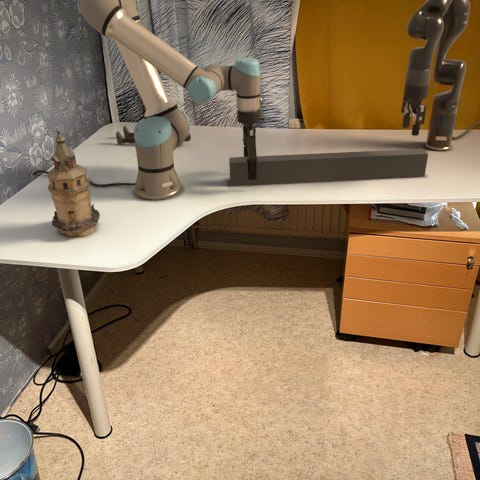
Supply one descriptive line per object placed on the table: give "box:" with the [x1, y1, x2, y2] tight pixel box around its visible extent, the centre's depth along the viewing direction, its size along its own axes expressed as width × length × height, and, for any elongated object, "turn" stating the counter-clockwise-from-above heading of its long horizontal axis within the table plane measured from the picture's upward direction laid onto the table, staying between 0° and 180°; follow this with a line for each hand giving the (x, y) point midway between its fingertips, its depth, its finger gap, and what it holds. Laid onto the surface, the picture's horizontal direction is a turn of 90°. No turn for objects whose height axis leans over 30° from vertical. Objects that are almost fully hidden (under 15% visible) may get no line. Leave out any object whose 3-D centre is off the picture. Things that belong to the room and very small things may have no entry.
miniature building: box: [46, 129, 101, 237], centre depth 148 cm, size 13×14×30 cm
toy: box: [115, 125, 192, 145], centre depth 218 cm, size 26×6×30 cm
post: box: [228, 148, 429, 187], centre depth 183 cm, size 68×5×8 cm, turn 95°
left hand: (250, 171), depth 182 cm, fingers open, 13 cm apart
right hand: (410, 131), depth 180 cm, fingers open, 8 cm apart
